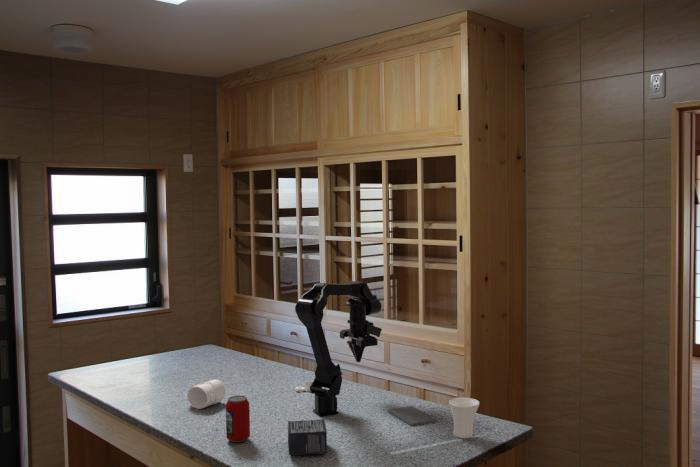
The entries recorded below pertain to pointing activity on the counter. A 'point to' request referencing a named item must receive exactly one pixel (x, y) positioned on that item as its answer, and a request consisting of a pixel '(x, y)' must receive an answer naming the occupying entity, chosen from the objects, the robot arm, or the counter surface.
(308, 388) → the teacup and saucer
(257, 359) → the counter surface
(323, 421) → the small box
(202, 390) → the white cylinder
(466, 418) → the cup
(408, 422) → the mat
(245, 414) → the beverage can
